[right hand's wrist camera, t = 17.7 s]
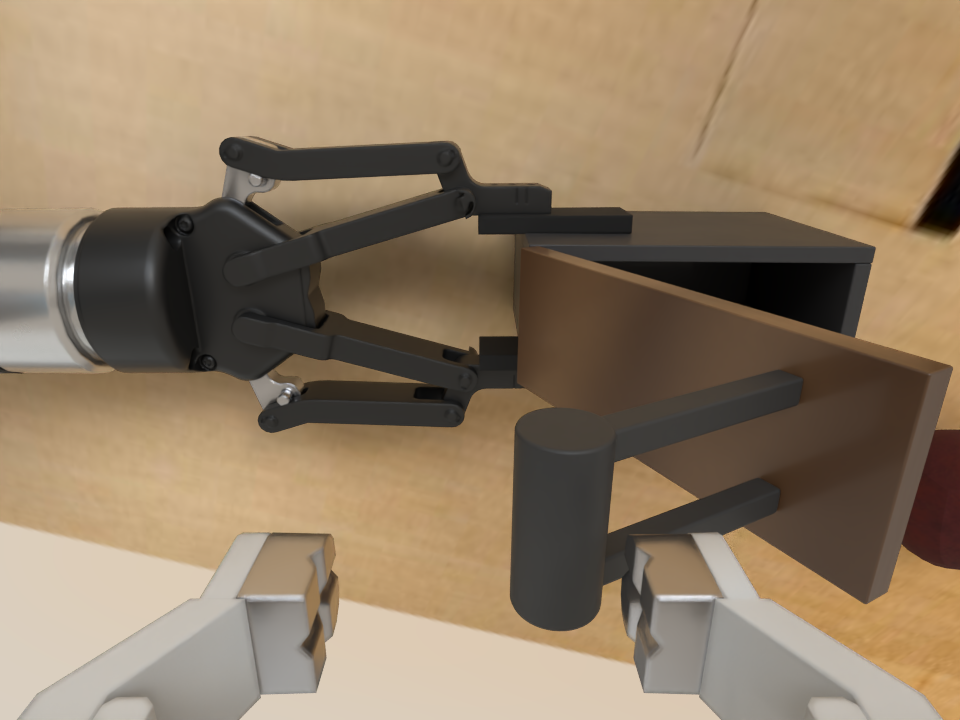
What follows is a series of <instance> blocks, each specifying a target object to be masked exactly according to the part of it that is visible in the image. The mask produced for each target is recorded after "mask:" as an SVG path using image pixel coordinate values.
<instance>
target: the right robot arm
mask: <svg viewBox="0 0 960 720" xmlns="http://www.w3.org/2000/svg"><path fill="white" fill-rule="evenodd" d="M335 556H336V553H335V545H334V538H333V537H332V535H331V534H311V533H272V534H271V533H242V534H240V535H238V536H237V537H236V538H235V540H234V541H233V543H232V545H231V547H230V548H229V550H228V552H227V553H226V555H225V557H224V558H223V560H222V562H221V563H220V565H219V567H218V568H217V570H216V572H215V573H214V575H213V577H212V578H211V580H210V582H209V583H208V585H207V587H206V588H205V590H204V592H203V594H202V595H201V597H200V599H189V600H187V601H186V602H184V603H183V604H181V605H179V606H178V607H176V608H175V609H173V610H171V611H170V612H168V613H167V614H165V615H163V616H162V617H160V618H159V619H157V620H155V621H154V622H152V623H150V624H149V625H147V626H146V627H144V628H142V629H141V630H139V631H138V632H136V633H134V634H133V635H131V636H130V637H128V638H126V639H125V640H123V641H122V642H120V643H118V644H117V645H115V646H114V647H112V648H110V649H109V650H107V651H105V652H104V653H102V654H101V655H99V656H97V657H96V658H94V659H93V660H91V661H89V662H88V663H86V664H85V665H83V666H81V667H80V668H78V669H76V670H75V671H73V672H72V673H70V674H68V675H67V676H65V677H64V678H62V679H60V680H59V681H57V682H56V683H54V684H52V685H51V686H49V687H48V688H46V689H44V690H43V691H41V692H40V693H38V694H37V695H36V696H35V697H34V699H33V700H32V701H31V702H30V704H29V705H28V706H27V707H26V709H25V710H24V711H23V713H22V714H21V715H20V716H19V718H18V719H17V720H239V719H240V718H241V717H242V716H243V715H244V714H245V713H246V712H247V711H248V710H249V709H250V708H251V707H252V706H253V705H254V704H255V703H256V702H257V701H258V700H259V699H260V698H261V697H260V694H293V693H316V691H317V688H318V685H319V681H320V678H321V674H322V671H323V668H324V664H325V661H326V649H325V642H326V641H327V640H328V639H330V638H331V637H332V636H333V633H334V629H335V625H336V622H337V614H338V607H339V584H338V577H337V576H336V574H335V573H334V572H333V571H332V570H331V568H332V565H333V562H334V559H335ZM624 556H625V559H626V562H627V565H628V568H629V570H628V571H627V572H626V573H625V574H624V576H623V577H622V585H621V606H622V615H623V621H624V626H625V629H626V633H627V636H628V637H629V638H630V639H632V640H633V641H634V642H635V649H634V661H635V664H636V668H637V671H638V674H639V678H640V681H641V684H642V688H643V691H644V693H667V694H700V695H699V697H700V698H701V699H702V700H703V702H705V704H706V705H707V706H708V707H709V708H710V709H711V710H712V711H713V712H714V713H715V714H716V715H717V716H718V717H719V718H720V719H721V720H943V719H942V717H941V716H940V715H939V714H938V712H937V711H936V710H935V708H934V707H933V706H932V705H931V703H930V702H929V701H928V699H927V698H926V697H925V695H923V694H922V693H920V692H918V691H917V690H915V689H914V688H912V687H910V686H909V685H907V684H906V683H904V682H902V681H901V680H899V679H898V678H896V677H894V676H893V675H891V674H890V673H888V672H886V671H885V670H883V669H882V668H880V667H878V666H877V665H875V664H874V663H872V662H870V661H869V660H867V659H866V658H864V657H862V656H861V655H859V654H858V653H856V652H854V651H853V650H851V649H849V648H848V647H846V646H845V645H843V644H841V643H840V642H838V641H837V640H835V639H833V638H832V637H830V636H829V635H827V634H825V633H824V632H822V631H821V630H819V629H817V628H816V627H814V626H813V625H811V624H809V623H808V622H806V621H805V620H803V619H801V618H800V617H798V616H797V615H795V614H793V613H792V612H790V611H789V610H787V609H785V608H784V607H782V606H781V605H779V604H777V603H776V602H774V601H773V600H771V599H760V597H759V595H758V594H757V592H756V590H755V589H754V587H753V585H752V584H751V582H750V580H749V579H748V577H747V575H746V574H745V572H744V570H743V569H742V567H741V565H740V564H739V562H738V560H737V559H736V557H735V555H734V554H733V552H732V550H731V549H730V547H729V545H728V544H727V542H726V540H725V539H724V537H723V536H722V535H721V534H719V533H718V532H708V533H688V534H634V535H628V536H627V539H626V543H625V552H624Z"/></svg>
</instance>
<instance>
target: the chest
mask: <svg viewBox="0 0 960 720" xmlns="http://www.w3.org/2000/svg"><path fill="white" fill-rule="evenodd" d="M627 212H628V213H630V214H631V215H633V222H632V233H619V234H565V233H525V234H515V261H514V298H513V310H514V316H515V322H516V328H517V334H518V329H519V295H520V262H521V248H525V247H535V246H540V247H544V248H547V249H551V250H554V251H558V252H561V253H564V254H568V255H571V256H575V257H578V258H582V259H585V260H589V261H592V262H595V263H599V264H602V265H606V266H609V267H613V268H616V269H619V270H623V271H626V272H630V273H633V274H637V275H640V276H644V277H647V278H650V279H654V280H657V281H661V282H664V283H668V284H671V285H675V286H678V287H681V288H685V289H688V290H692V291H695V292H699V293H702V294H706V295H709V296H712V297H716V298H719V299H723V300H726V301H730V302H733V303H737V304H740V305H743V306H747V307H750V308H754V309H757V310H761V311H764V312H767V313H771V314H774V315H778V316H781V317H785V318H788V319H792V320H795V321H798V322H802V323H805V324H809V325H812V326H816V327H819V328H823V329H826V330H829V331H833V332H836V333H840V334H843V335H847V336H850V337H854V338H855V335H856V331H857V326H858V322H859V317H860V313H861V309H862V304H863V300H864V296H865V291H866V287H867V283H868V278H869V274H870V270H871V264H870V263H872V262H873V258H874V253H875V249H876V247H874V246H871V245H867V244H864V243H861V242H858V241H855V240H852V239H848V238H845V237H842V236H839V235H836V234H833V233H829V232H826V231H823V230H820V229H817V228H814V227H811V226H807V225H804V224H801V223H798V222H795V221H792V220H788V219H785V218H782V217H779V216H776V215H773V214H769V213H766V212H657V211H627Z"/></svg>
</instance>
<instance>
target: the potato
mask: <svg viewBox="0 0 960 720" xmlns="http://www.w3.org/2000/svg"><path fill="white" fill-rule="evenodd" d="M902 545H903V546H904V547H905V548H906V549H908V550H909V551H910V552H912V553H914V554H915V555H917V556H918V557H920V558H921V559H923V560H925V561H927V562H929V563H931V564H933V565H936V566H940V567H944V568H949V569H958V570H960V430H935V431H934V435H933V438H932V441H931V445H930V448H929V452H928V455H927V458H926V462H925V465H924V469H923V472H922V476H921V479H920V482H919V486H918V489H917V493H916V496H915V499H914V503H913V506H912V510H911V513H910V516H909V520H908V523H907V527H906V530H905V534H904V537H903V540H902Z"/></svg>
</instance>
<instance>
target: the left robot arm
mask: <svg viewBox="0 0 960 720" xmlns="http://www.w3.org/2000/svg"><path fill="white" fill-rule="evenodd" d="M219 154H220V157H221V159H222V161H223V162H224V163H225V164H226V165H227V169H226V175H225V181H224V187H223V193H222V197H221V198H217V199H214V200H212V201H210V202H209V203H207V204H206V205H204V206H202V207H158V208H112V209H109V210H106V211H101V210H97V209H94V208H44V209H0V373H93V374H100V373H110V372H112V371H114V370H118V371H121V372H124V373H193V372H207V371H219V372H223V373H226V374H229V375H231V376H233V377H236V378H238V379H240V380H245V381H249V382H250V384H251V386H252V388H253V390H254V392H255V394H256V396H257V398H258V400H259V402H260V404H261V406H262V409H263V411H262V412H261V414H260V415H259V417H258V423H259V426H260V427H261V428H262V429H263V430H264V431H266V432H270V433H274V432H278V431H282V430H285V429H288V428H292V427H295V426H298V425H302V424H305V423H335V424H367V425H399V426H430V427H456V426H458V425H460V424H461V423H462V422H463V420H464V415H465V411H466V409H467V406H468V403H469V401H470V398H471V397H472V395H473V394H474V393H475V392H476V391H478V390H480V389H486V388H525V387H523V386H521V385H520V384H518V383H517V362H518V336H501V337H479V355H478V354H477V351H476V350H475V349H474V348H472V347H470V346H469V351H466V350H462V349H459V348H455V347H451V346H447V345H443V344H440V343H436V342H432V341H428V340H424V339H421V338H417V337H413V336H409V335H406V334H402V333H398V332H394V331H390V330H387V329H383V328H379V327H375V326H371V325H368V324H364V323H360V322H356V321H352V320H349V319H347V318H346V317H345V316H344V315H342V314H339V313H335V312H332V311H328V310H325V303H324V299H323V296H322V294H321V291H320V288H319V278H320V273H321V261H324V260H326V259H328V258H330V257H333V256H337V255H340V254H343V253H347V252H350V251H353V250H357V249H360V248H363V247H367V246H370V245H373V244H377V243H380V242H383V241H387V240H390V239H393V238H397V237H400V236H403V235H407V234H410V233H413V232H417V231H420V230H423V229H426V228H430V227H433V226H436V225H440V224H443V223H446V222H450V221H453V220H456V219H460V218H463V217H465V218H466V219H467V218H469V217H471V216H472V215H478V234H525V233H565V234H619V233H632V222H633V215H631V214H630V213H628V212H627V211H625V210H623V209H622V208H620V207H600V208H551V199H552V191H551V190H550V189H549V188H548V187H545V186H543V185H541V184H538V183H488V184H485V183H480V182H477V181H475V180H474V179H473V178H472V177H471V176H470V174H469V172H468V170H467V167H466V164H465V161H464V159H463V156H462V153H461V149H460V148H459V146H458V145H457V144H456V143H454V142H451V141H435V142H415V143H395V144H375V145H355V146H335V147H315V148H295V149H293V148H290V147H287V146H284V145H281V144H277V143H274V142H271V141H268V140H265V139H262V138H259V137H254V136H244V137H230V138H227V139H225V140H224V141H223V142H222V143H221V145H220V148H219ZM419 174H437V175H438V178H439V180H440V183H441V185H442V188H443V189H439V190H436V191H433V192H430V193H426V194H423V195H420V196H417V197H413V198H410V199H407V200H403V201H400V202H397V203H394V204H390V205H387V206H384V207H381V208H377V209H374V210H371V211H368V212H364V213H361V214H358V215H355V216H351V217H348V218H345V219H341V220H338V221H335V222H330V223H326V224H322V225H319V226H316V227H313V228H309V229H306V230H303V231H300V232H297V231H295V230H294V229H292V228H291V227H289V226H288V225H286V224H285V223H283V222H282V221H280V220H279V219H277V218H276V217H274V216H273V215H271V214H270V213H268V212H267V211H265V210H264V209H262V208H261V207H259V206H258V205H256V204H255V203H253V202H252V198H253V196H254V195H255V194H256V193H257V192H259V193H264V192H268V191H271V190H274V189H276V188H277V187H278V186H279V184H280V182H281V180H282V181H297V180H317V179H337V178H358V177H378V176H398V175H419ZM293 354H298V355H302V356H306V357H310V358H314V359H318V360H328V359H335V360H339V361H343V362H347V363H351V364H355V365H359V366H363V367H367V368H370V369H374V370H378V371H382V372H386V373H390V374H394V375H398V376H401V377H405V378H409V379H413V380H417V381H421V382H425V383H429V384H423V383H392V382H362V381H331V380H324V381H312V382H307V383H303V382H302V380H301V378H299V377H296V376H295V377H294V376H282V375H280V374H278V373H277V372H276V371H275V370H274V368H276V367H277V366H278V365H280V364H281V363H282V362H284V361H285V360H286V359H288V358H289V357H290V356H292V355H293Z"/></svg>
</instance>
